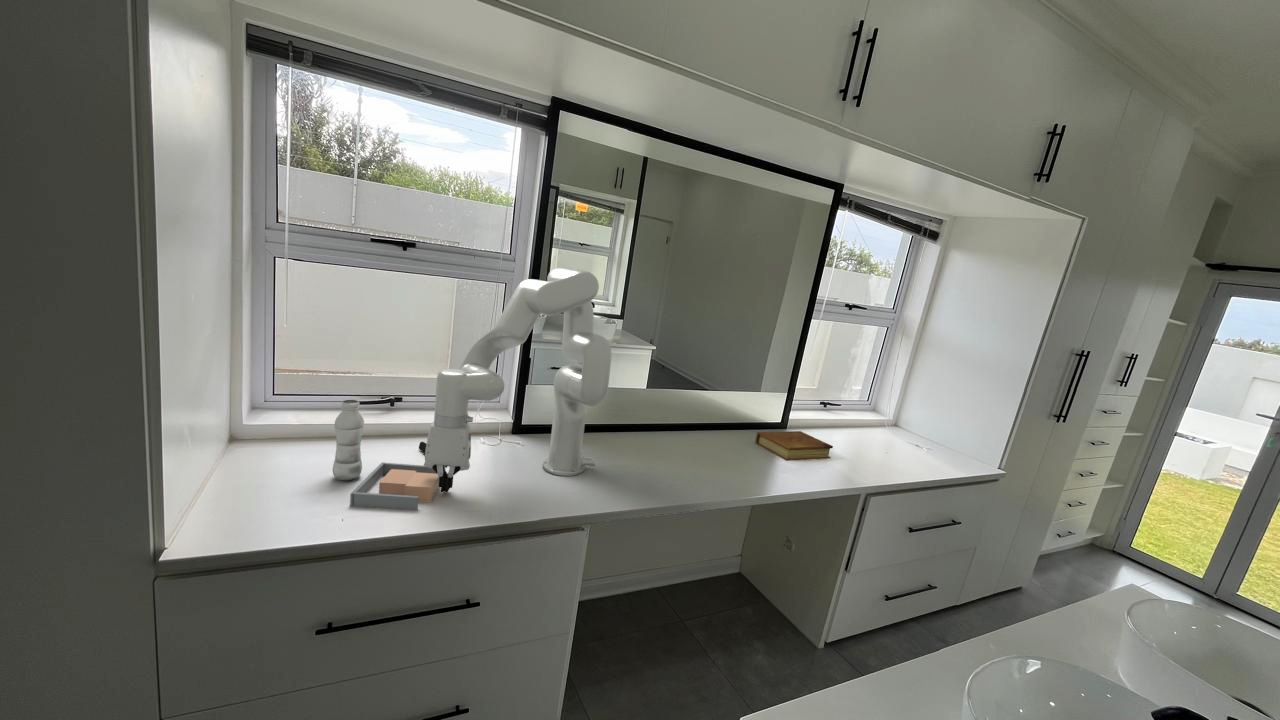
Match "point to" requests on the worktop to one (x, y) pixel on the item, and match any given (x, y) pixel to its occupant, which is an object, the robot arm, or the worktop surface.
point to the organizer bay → (386, 500)
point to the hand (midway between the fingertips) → (445, 489)
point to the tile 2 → (422, 486)
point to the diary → (793, 445)
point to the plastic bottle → (348, 441)
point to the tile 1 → (395, 482)
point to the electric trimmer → (423, 447)
